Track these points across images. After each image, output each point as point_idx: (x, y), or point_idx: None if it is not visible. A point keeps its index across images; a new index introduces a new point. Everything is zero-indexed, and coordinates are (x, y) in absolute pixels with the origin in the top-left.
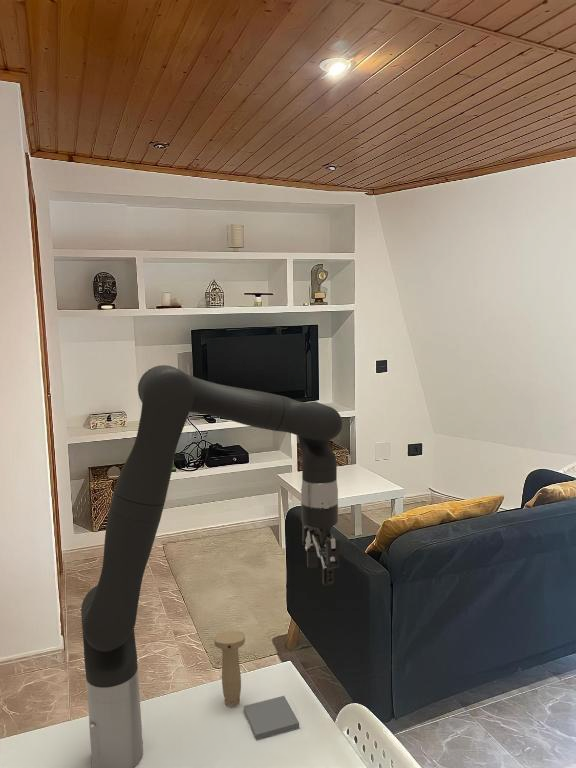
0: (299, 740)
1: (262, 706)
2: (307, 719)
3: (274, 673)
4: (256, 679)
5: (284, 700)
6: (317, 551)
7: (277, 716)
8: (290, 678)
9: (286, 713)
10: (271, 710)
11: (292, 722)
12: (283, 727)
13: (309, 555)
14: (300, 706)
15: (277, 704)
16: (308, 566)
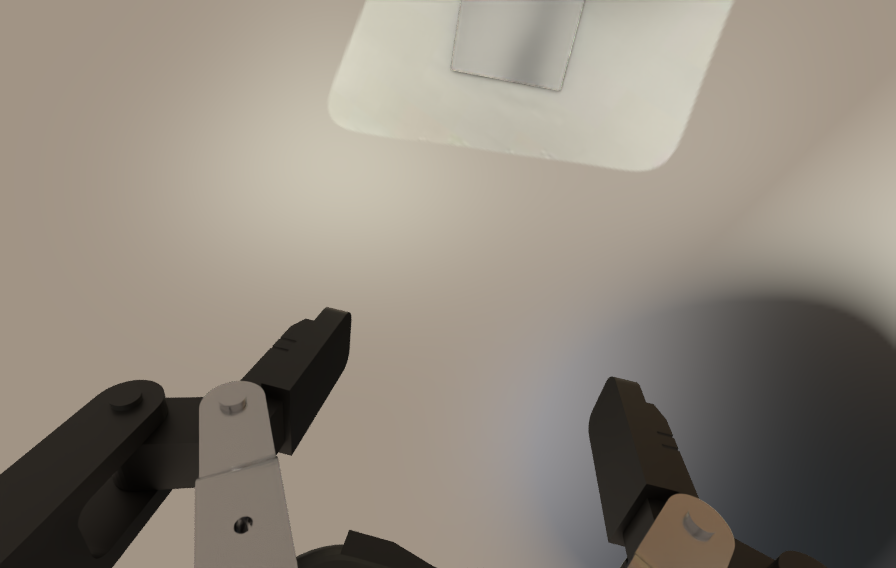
0: (418, 47)
1: (560, 8)
2: (467, 106)
3: (674, 128)
4: (692, 65)
5: (543, 81)
6: (257, 516)
7: (500, 28)
8: (623, 155)
9: (496, 57)
10: (530, 24)
11: (460, 54)
12: (458, 22)
13: (633, 464)
14: (515, 116)
15: (541, 54)
16: (616, 384)
